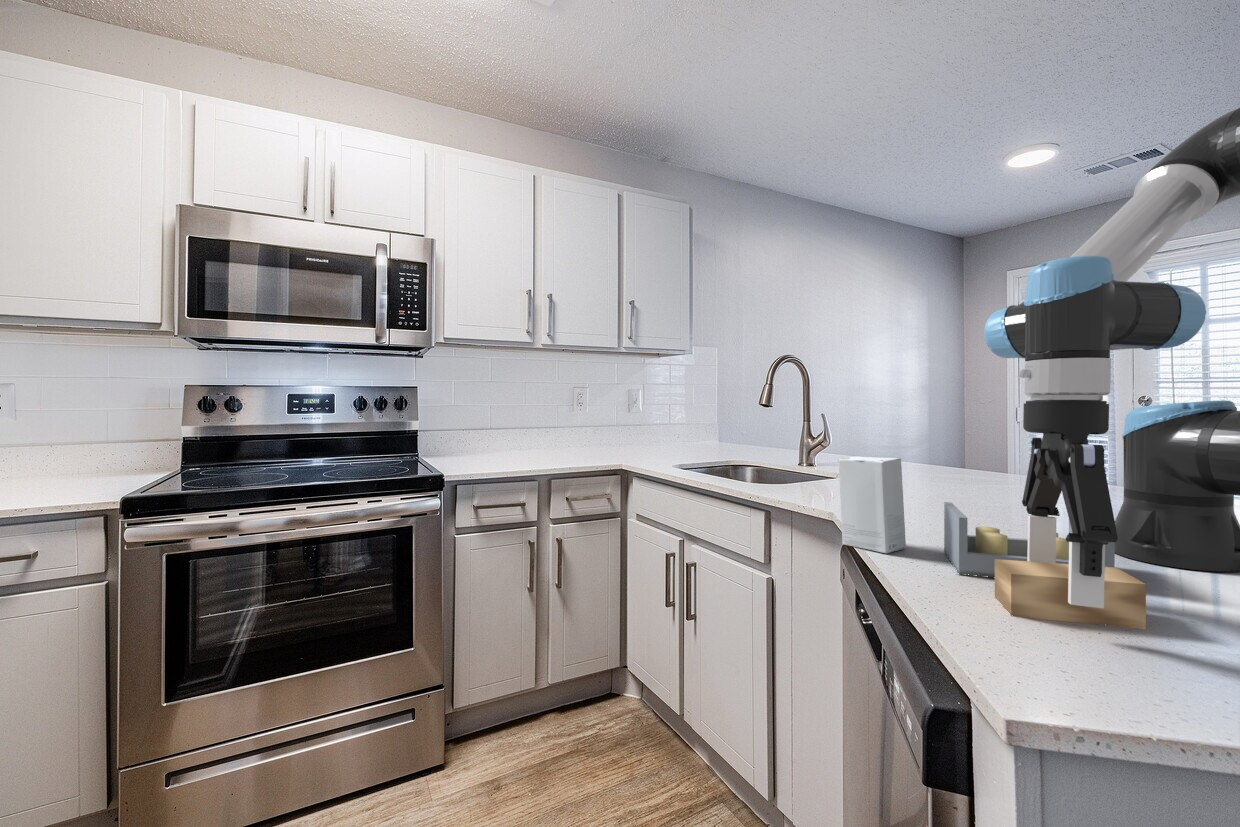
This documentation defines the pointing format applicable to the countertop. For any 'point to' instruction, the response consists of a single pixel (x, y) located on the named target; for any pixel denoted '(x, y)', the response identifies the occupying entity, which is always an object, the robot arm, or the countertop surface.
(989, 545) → the peg frame
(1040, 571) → the wooden block
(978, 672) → the countertop surface
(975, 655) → the countertop surface
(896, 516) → the skincare box
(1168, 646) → the countertop surface
